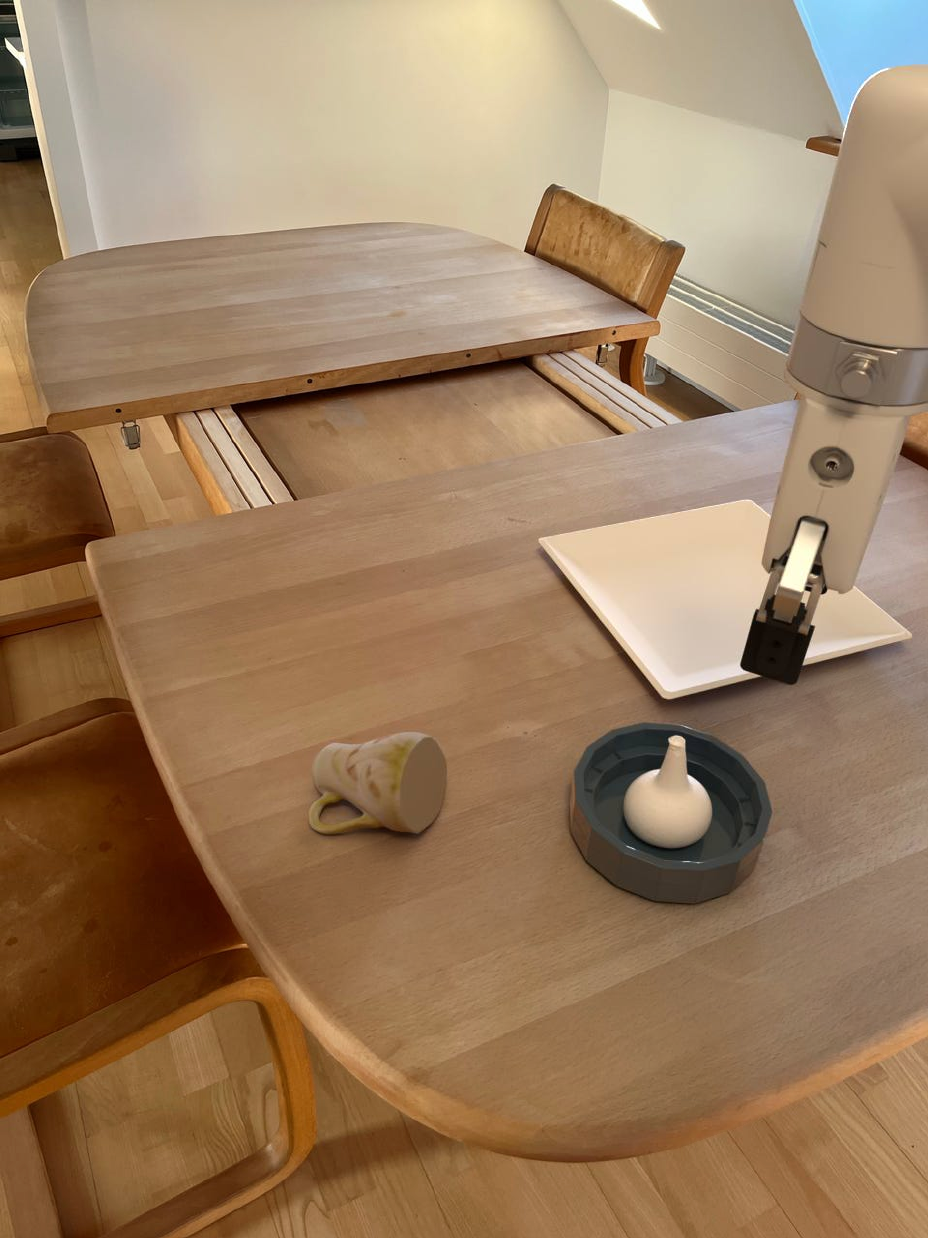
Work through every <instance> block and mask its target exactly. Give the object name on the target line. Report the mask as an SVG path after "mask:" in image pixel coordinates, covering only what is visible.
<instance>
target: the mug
mask: <svg viewBox="0 0 928 1238" xmlns="http://www.w3.org/2000/svg"><path fill="white" fill-rule="evenodd" d="M446 759H447V758H446V756H445V754H444V751H443V749H442V747H441V745H440V743H439V742H438V740H437V739H436V738H434V737H433V736H431V735H429V734H426V733H422V732H420V731H419V732H418V731H399V732H395V733H394V732H393V733H391V734H388V735H384V736H382V737H378V738H376V739H373V740H370V741H366V742H362V743H358V744H357V743H356V744H355V743H354V744H352V743H341V742H340V743H339V742H332V743H330V744H328V745H326V746H325V747H323V748H322V749H321V750H320V751H319V752H318V753H317V755H316V756H315V758H314V760H313V762H312V765H311V777H312V781H313V783H314V785H315V787H316V789H317V790H318V792H319V793H320V794H321V795H322V796H321V797H319V798H318V799H317V800H315V801H314V802H313V803H312V804H311V806H310V808H309V810H308V824H309V826H310V827H311V829H312V830H314V831H315V832H317V833H320V834H324V835H338V834H342V833H347V832H350V831H354V830H359V829H377V828H380V827H385V828H386V829H388V830H391V831H395V832H402V833H411V834H417V835H418V834H420V833H421V832H423V831H424V830H425V829H426V828H427V827H429V826H431V825H432V824H433V823H434V821H435V820H436V818H437V817H438V815H439V814H440V811H441V809H442V808H441V807H442V805H443V802H444V799H445V794H446V789H447V776H448V762H447V760H446ZM341 801H347V802H349V803H350V804H352V805H353V806H354V807H355V808H357V809H358V810H359V811H360V812H361V813H362V815H361V816H359V817H357V818H353V819H350V820H347V821H343V822H340V823H335V824H325V823H323V822H321V820H320V816H321V813H322V810H323V809H324V808H325V806H326V805H328V804H333V803H338V802H341Z"/></svg>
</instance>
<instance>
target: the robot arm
mask: <svg viewBox="0 0 928 1238" xmlns="http://www.w3.org/2000/svg"><path fill="white" fill-rule="evenodd" d="M810 262H811V263H810V267H809V270H808V274H807V278H806V282H805V286H804V290H803V294H802V297H801V298H802V299H801V303H800V306H799V311H798V314H797V318H796V321H795V326H794V330H793V335H792V338H791V341H790V346H789V350H788V354H787V357H786V362H785V365H784V369H783V378H784V380H785V383H787V385H788V386H789V387H790V388H791V389H792V390H794V391H795V392H796V393H798V394H799V395H800V396H801V397H800V401H799V404H798V408H797V411H796V415H795V419H794V423H793V426H792V431H791V434H790V438H789V442H788V446H787V450H786V453H785V457H784V461H783V465H782V469H781V472H780V476H779V481H778V485H777V488H776V493H775V496H774V502H773V505H772V510H771V513H770V514H771V515H770V516H771V519H770V523H769V528H768V533H767V537H766V542H765V547H764V552H763V557H762V563H761V564H762V566H763V568H764V569H765V571H766V572H767V573H768V574H770V572H771V575H770V578H769V581H768V584H767V587H766V590H765V593H764V596H763V599H762V602H761V605H760V608H759V609H756V610H755V613H754V616H753V619H752V623H751V626H750V630H749V634H748V637H747V641H746V645H745V648H744V652H743V655H742V659H741V663H740V667H741V668H742V669H743V670H744V671H747V672H750V673H753V674H757V675H760V676H761V677H763V678H766V679H769V680H773V681H776V682H779V683H782V684H786V685H788V686H793V685H796V684H797V683H798V680H799V677H800V674H801V671H802V668H803V666H802V665H803V662H804V659H805V656H806V653H807V650H808V647H809V644H810V641H811V638H812V635H813V632H814V629H815V626H814V625H811V622H812V619H813V616H814V613H815V610H816V607H817V604H818V601H819V598H820V595H823V594H825V593H826V592H827V590H828V589H830V590H834V591H838V594H844V593H847V592H849V591H850V590H851V589H853V586H855V583H856V581H857V577H858V574H859V571H860V568H861V565H862V563H863V559H864V558H865V554H866V551H867V549H868V546H869V543H870V540H871V537H872V535H873V531H874V529H875V526H876V523H877V520H878V517H879V515H880V512H881V509H882V506H883V504H884V501H885V497H886V495H887V493H888V489H889V487H890V483H891V481H892V478H893V474H894V472H895V469H896V466H897V463H898V459H899V458H900V453H901V451H902V447H903V444H904V441H905V437H906V434H907V431H908V428H909V424H910V420H911V416H917V415H921V414H924V413H926V412H928V64H906V65H895V66H891V67H889V68H884V69H881V70H879V71H877V72H876V73H874V74H873V75H871V76H869V78H868V79H867V80H866V81H864V82H863V84H862V85H861V87H860V88H859V89H858V91H857V93H856V95H855V96H854V99H853V101H852V103H851V107H850V110H849V114H848V116H847V119H846V124H845V127H844V131H843V135H842V139H841V143H840V146H839V151H838V154H837V159H836V162H835V167H834V171H833V175H832V179H831V183H830V187H829V190H828V195H827V199H826V202H825V207H824V211H823V215H822V218H821V223H820V226H819V231H818V234H817V238H816V242H815V246H814V250H813V254H812V259H811V261H810ZM778 585H779V586H778ZM777 588H778V589H777ZM776 591H777V593H776ZM804 591H809V592H811V593H810V596H809V599H808V602H807V605H806V606H805V603H802V602H801V600H802V598H803V594H804ZM775 594H776V595H775ZM805 607H806V608H805Z"/></svg>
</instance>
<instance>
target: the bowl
mask: <svg viewBox="0 0 928 1238" xmlns="http://www.w3.org/2000/svg"><path fill="white" fill-rule="evenodd" d="M675 735H676V736H681V737H683V739H685V752H686V767H687V774H688V775H690V776H691V777H693V778H694V779H696V780H697V781H698V782H699V783H700V784H701V785H702V786H703V787H704V789H705V790H706V792H707V794H708V796H709V798H710V801H711V804H712V819H711V823H710V825H709V828H708V830H707V831H706V833H705V834H704V835H703V836H702V837H701V839H699V840H698V841H696V842H695V843H693V844H691V845H688V846H685V847H681V848H664V847H658V846H655V845H652V844H649V843H647V842H645V841H643V840H641V839H640V838H639V837H637V836H636V835H635V834H634V833H633V832H632V831H631V829H630V828H629V826H628V825H627V823H626V820H625V817H624V811H623V804H624V798H625V795H626V792H627V790H628V788H629V787H630V785H631V784H632V783H633V782H634V781H635V780H636V779H637V778H638V777H640V776H641V775H643V774H645V773H647V772H649V771H652V770H657V769H661V766H662V764H663V762H664V759H665V756H666V753H667V750H668V747H669V740H668V739H669V738H670V737H673V736H675ZM670 739H671V738H670ZM772 815H773V809H772V805H771V801H770V796H769V793H768V789H767V786H766V782H765V780H763V777H761V776H760V774H759V772H757V770H756V769H755V768H754V767H753V766H752V764H751V763H750V762H749V760H748V759H747V758H746V756H744V755H743V754H741V752H739V751H738V750H736V749H734V748H733V747H731V746H729V745H728V744H727V743H726V742H723V741H722V740H721V739H719V738H717V737H716V736H715V735H713V734H709V733H706V732H703V731H701V730H696V729H693V728H691V727H688V726H684V725H681V724H679V723H663V722H662V723H661V722H660V723H659V722H644V721H643V722H638V723H634V724H631V725H626V726H623V727H618V728H613V729H611V730H609V731H608V732H606V733H605V734H603V735H601V736H600V737H599V738H597V739H596V740H595V741H593V742H592V743H590V744H588V745H587V746H586V747H585V750H584V751H583V753H582V755H581V757H580V759H579V761H578V763H577V764H576V765H575V768H574V770H573V775H572V780H571V790H570V797H569V825H570V829H569V830H570V833H571V835H572V837H573V839H574V841H575V843H576V844H577V846H578V848H579V850H580V852H581V854H582V855H583V857H584V860H585V861H586V862H587V863H588V864H590V865H591V866H592V867H593V868H594V869H596V870H597V871H598V872H599V873H600V874H602V875H603V876H604V877H605V878H606V879H607V880H608V881H610V882H611V883H612V884H614V886H616V887H618V888H621V889H624V890H625V891H629V892H630V893H633V894H636V895H639V896H641V897H643V898H646V899H648V900H651V901H654V902H662V903H663V902H665V903H666V902H667V903H679V904H680V903H681V904H699V903H702V902H704V901H708V900H712V899H715V898H717V897H721V896H725V895H728V894H730V893H732V892H733V891H734V890H735V889H736V888H738V887H739V886H740V885H742V883H743V882H744V881H745V880H746V879H747V878H748V877H750V875H752V874H753V873H754V871H755V868H756V866H757V863H758V860H759V857H760V854H761V851H762V848H763V845H764V842H765V838H766V835H767V832H768V829H769V824H770V823H771V822H770V821H771V819H772Z"/></svg>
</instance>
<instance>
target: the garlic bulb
mask: <svg viewBox="0 0 928 1238" xmlns="http://www.w3.org/2000/svg"><path fill="white" fill-rule="evenodd" d="M670 738H671V739H670ZM670 738H669V739H668V740H669V747H668V750H667V753H666V756H665V759H664V762H663V764H662V766H661V769H657V770H652V771H649V772H647V773H645V774H643V775H641V776H640V777H638V778H637V779H636V780H635V781H634V782H633V783H632V784H631V785H630V787H629V788H628V790H627V792H626V795H625V798H624V804H623V811H624V817H625V820H626V823H627V825H628V826H629V828H630V829H631V831H632V832H633V833H634V834H635V835H636V836H637V837H639V838H640V839H641V840H643V841H645V842H647V843H649V844H652V845H655V846H658V847H664V848H681V847H685V846H688V845H691V844H693V843H695V842H696V841H698V840H699V839H701V837H702V836H703V835H704V834H705V833H706V831H707V830H708V828H709V825H710V823H711V819H712V804H711V801H710V798H709V796H708V794H707V792H706V790H705V789H704V787H703V786H702V785H701V784H700V783H699V782H698V781H697V780H696V779H694V778H693V777H691V776H690V775H688V774H687V767H686V752H685V739H683V737H681V736H676V735H675V736H673V737H670Z"/></svg>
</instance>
